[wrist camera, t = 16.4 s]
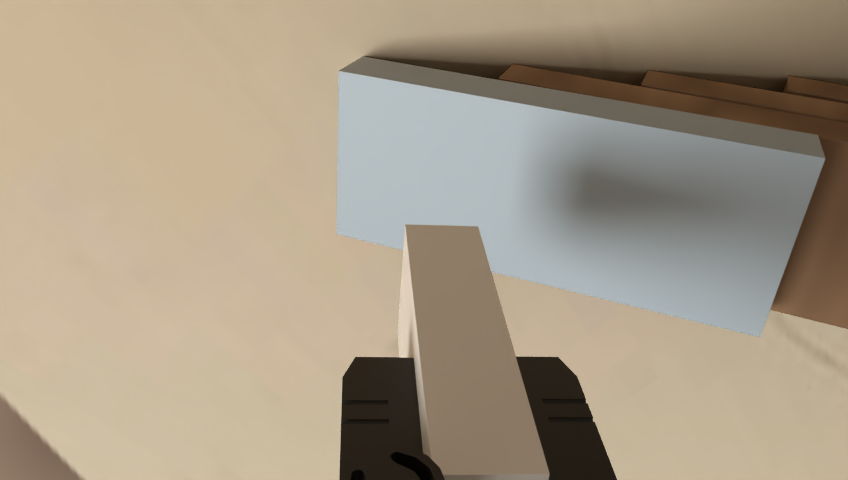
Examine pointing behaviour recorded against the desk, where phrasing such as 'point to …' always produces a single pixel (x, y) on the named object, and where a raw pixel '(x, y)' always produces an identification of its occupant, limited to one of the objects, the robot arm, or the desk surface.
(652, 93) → the row tile
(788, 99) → the row tile
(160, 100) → the desk surface
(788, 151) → the tile
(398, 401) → the robot arm
